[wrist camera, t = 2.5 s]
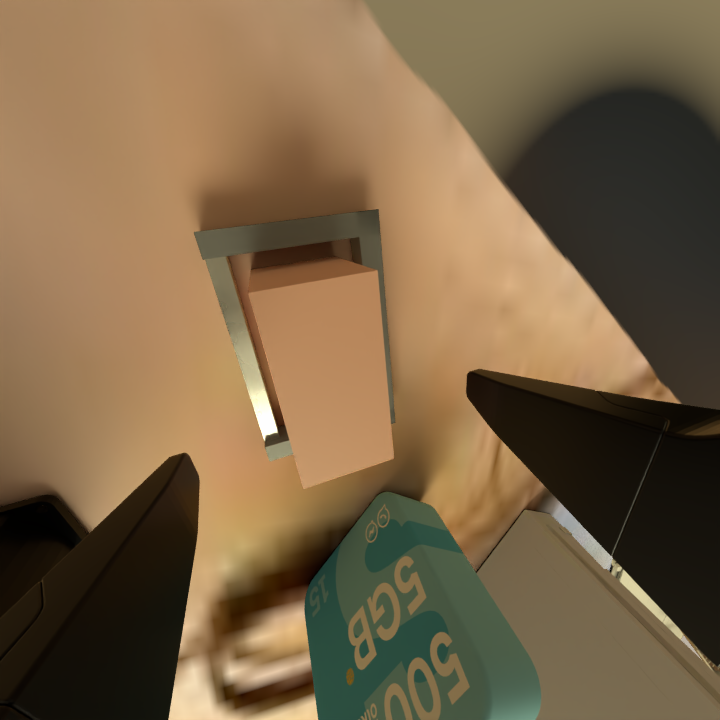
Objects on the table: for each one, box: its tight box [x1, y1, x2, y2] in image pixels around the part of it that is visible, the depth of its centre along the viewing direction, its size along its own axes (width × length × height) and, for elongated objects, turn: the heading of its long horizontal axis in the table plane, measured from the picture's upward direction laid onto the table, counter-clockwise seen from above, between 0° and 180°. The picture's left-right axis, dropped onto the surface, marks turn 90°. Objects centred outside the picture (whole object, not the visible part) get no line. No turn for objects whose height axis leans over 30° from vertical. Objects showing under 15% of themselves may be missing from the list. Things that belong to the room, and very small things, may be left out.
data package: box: [305, 492, 541, 720], centre depth 19 cm, size 12×4×12 cm, turn 143°
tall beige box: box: [248, 256, 394, 489], centre depth 13 cm, size 8×4×6 cm, turn 6°
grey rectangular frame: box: [194, 209, 395, 461], centre depth 15 cm, size 12×8×2 cm, turn 6°
